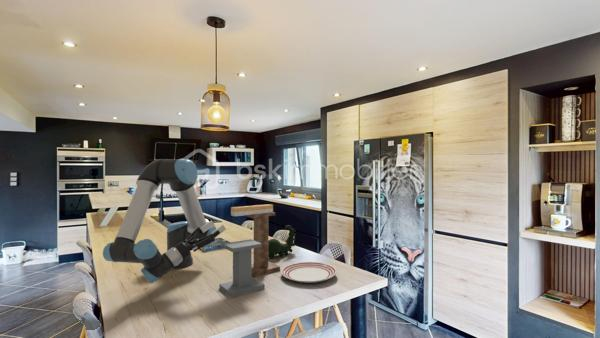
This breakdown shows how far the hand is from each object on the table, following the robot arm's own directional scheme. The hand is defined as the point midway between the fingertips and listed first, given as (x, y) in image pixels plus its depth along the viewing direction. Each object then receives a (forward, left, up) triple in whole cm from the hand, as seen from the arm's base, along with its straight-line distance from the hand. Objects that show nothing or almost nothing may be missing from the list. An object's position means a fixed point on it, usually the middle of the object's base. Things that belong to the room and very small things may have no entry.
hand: (218, 224), depth 146 cm
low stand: (+16, -4, -27) cm, 31 cm away
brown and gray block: (+9, +16, +3) cm, 19 cm away
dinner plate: (+37, +22, -27) cm, 51 cm away
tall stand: (+11, +20, -27) cm, 35 cm away
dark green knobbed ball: (+9, +48, -27) cm, 56 cm away
